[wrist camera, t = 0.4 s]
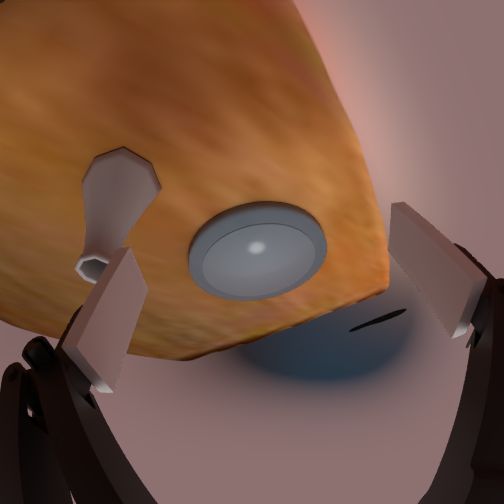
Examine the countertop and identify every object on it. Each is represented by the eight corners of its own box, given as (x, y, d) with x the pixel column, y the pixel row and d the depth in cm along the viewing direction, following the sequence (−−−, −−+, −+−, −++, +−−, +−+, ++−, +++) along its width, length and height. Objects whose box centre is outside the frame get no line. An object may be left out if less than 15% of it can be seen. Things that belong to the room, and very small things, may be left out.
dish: (164, 229, 29) (163, 241, 27) (317, 183, 27) (322, 194, 26) (217, 302, 41) (218, 312, 40) (326, 272, 39) (329, 282, 38)
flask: (120, 223, 27) (103, 309, 21) (71, 177, 22) (32, 263, 15) (175, 189, 25) (170, 280, 19) (125, 132, 20) (90, 215, 13)
